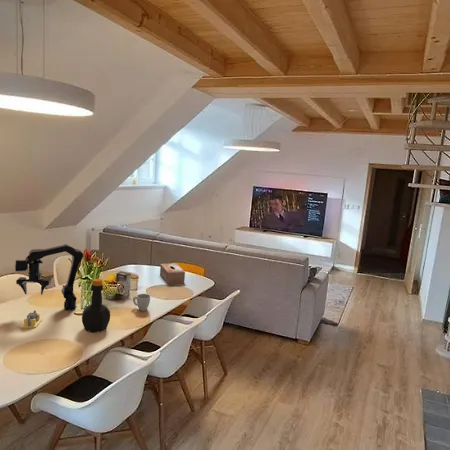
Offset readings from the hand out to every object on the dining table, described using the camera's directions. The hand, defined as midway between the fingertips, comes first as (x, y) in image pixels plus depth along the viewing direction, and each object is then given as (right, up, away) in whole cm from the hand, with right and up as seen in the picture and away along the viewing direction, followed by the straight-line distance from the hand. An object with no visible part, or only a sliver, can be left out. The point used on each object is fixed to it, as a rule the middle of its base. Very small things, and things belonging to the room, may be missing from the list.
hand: (33, 294), depth 237 cm
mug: (+61, -14, +22) cm, 67 cm away
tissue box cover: (+73, -4, +93) cm, 118 cm away
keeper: (+5, -15, -13) cm, 20 cm away
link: (+5, -14, -13) cm, 20 cm away
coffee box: (+42, -8, +47) cm, 64 cm away
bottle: (+42, -18, -12) cm, 48 cm away
